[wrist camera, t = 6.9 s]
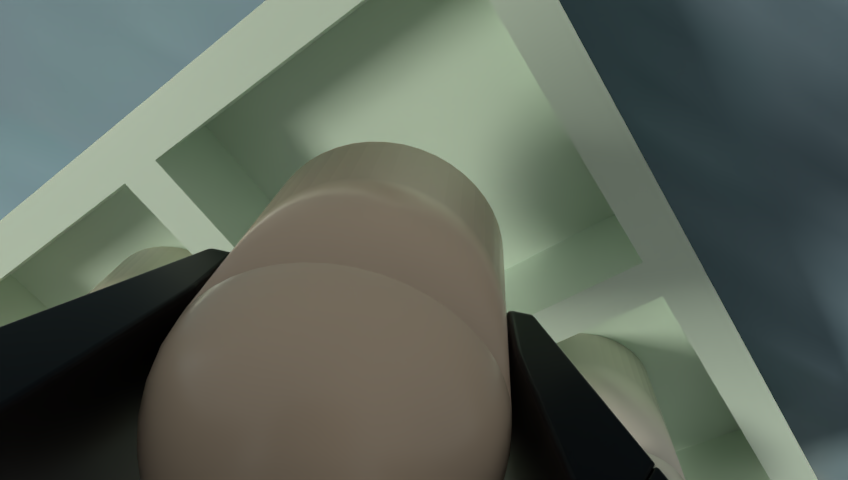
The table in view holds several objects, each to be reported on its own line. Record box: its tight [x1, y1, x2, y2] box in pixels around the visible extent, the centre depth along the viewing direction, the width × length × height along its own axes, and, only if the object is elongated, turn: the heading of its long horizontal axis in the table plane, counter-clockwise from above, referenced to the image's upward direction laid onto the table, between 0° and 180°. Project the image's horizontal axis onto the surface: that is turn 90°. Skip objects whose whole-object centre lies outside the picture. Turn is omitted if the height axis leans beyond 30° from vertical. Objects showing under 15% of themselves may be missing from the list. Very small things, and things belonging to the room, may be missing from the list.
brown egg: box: [137, 142, 512, 480], centre depth 8 cm, size 4×4×6 cm
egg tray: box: [0, 0, 818, 480], centre depth 17 cm, size 18×18×3 cm
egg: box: [556, 333, 685, 480], centre depth 15 cm, size 4×4×6 cm
